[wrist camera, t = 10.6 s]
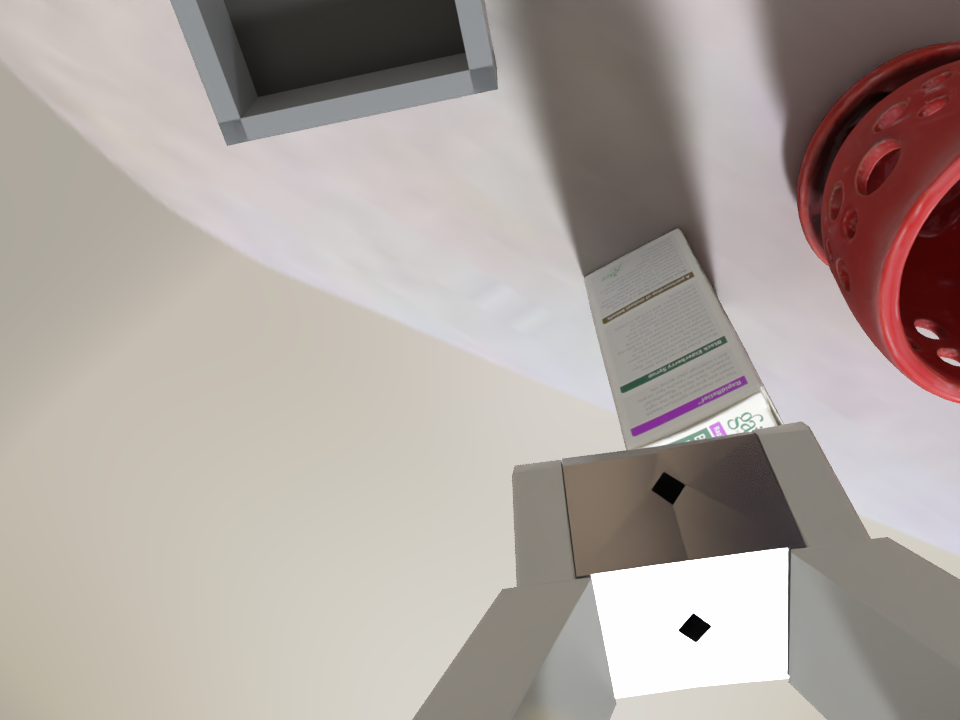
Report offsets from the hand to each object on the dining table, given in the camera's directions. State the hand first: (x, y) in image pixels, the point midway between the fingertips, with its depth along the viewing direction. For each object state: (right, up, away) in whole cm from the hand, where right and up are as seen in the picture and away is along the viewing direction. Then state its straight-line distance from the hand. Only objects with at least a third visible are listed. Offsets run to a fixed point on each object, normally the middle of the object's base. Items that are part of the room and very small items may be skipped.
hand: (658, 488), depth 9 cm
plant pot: (+19, +11, +30) cm, 37 cm away
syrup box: (+7, +5, +34) cm, 35 cm away
